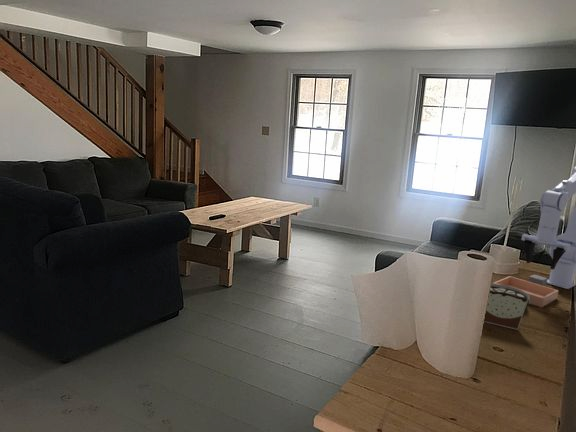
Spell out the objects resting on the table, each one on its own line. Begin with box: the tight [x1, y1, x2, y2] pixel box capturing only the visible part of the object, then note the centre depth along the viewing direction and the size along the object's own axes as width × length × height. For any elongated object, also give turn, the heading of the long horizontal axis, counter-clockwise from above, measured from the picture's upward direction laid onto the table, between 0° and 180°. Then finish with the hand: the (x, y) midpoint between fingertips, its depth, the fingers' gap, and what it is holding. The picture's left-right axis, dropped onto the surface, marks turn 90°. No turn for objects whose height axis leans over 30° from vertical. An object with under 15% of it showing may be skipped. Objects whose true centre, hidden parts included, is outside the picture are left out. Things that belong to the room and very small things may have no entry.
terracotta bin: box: [492, 275, 559, 308], centre depth 157 cm, size 14×16×3 cm
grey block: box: [527, 274, 548, 287], centre depth 165 cm, size 4×4×4 cm
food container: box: [483, 283, 531, 331], centre depth 132 cm, size 12×6×10 cm, turn 65°
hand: (540, 265), depth 160 cm, fingers open, 7 cm apart
